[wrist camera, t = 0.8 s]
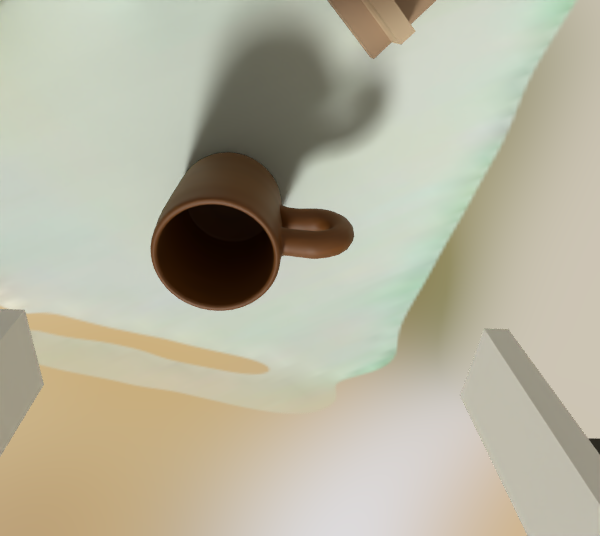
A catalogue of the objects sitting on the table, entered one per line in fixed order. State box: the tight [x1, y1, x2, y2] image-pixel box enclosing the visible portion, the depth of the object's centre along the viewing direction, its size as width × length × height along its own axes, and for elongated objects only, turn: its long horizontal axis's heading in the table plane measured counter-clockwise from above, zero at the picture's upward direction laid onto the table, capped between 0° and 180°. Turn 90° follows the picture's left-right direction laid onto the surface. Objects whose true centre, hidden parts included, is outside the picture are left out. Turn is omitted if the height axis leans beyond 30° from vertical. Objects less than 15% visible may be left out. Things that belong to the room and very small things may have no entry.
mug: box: [151, 152, 354, 311], centre depth 30 cm, size 12×8×9 cm, turn 93°
